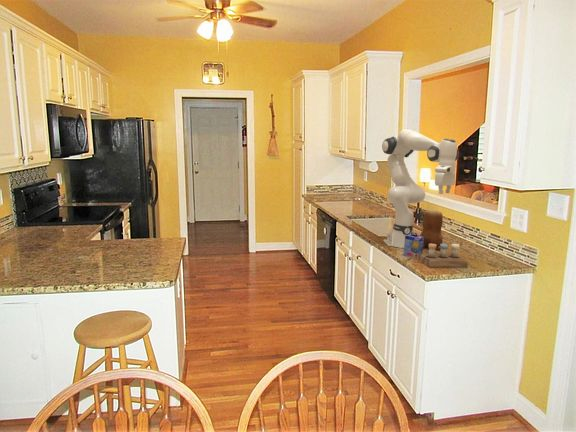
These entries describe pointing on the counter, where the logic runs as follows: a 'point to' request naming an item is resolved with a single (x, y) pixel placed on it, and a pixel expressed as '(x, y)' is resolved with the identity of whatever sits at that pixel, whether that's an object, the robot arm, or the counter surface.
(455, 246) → the plunger cream
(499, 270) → the counter surface
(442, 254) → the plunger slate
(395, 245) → the robot arm
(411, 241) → the ink cartridge box
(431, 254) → the plunger terracotta
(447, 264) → the wooden board with holes
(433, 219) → the brown rounded block
